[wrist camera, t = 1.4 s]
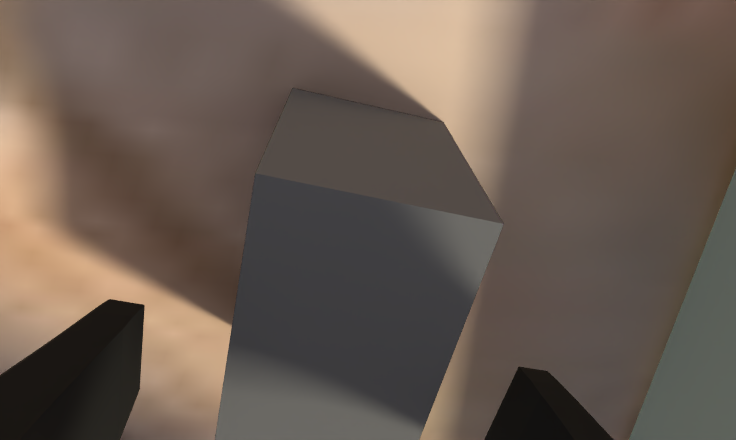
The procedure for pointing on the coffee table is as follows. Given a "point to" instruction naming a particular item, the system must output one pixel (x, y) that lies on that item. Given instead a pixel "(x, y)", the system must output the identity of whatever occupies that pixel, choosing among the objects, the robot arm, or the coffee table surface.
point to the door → (700, 349)
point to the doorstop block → (352, 275)
